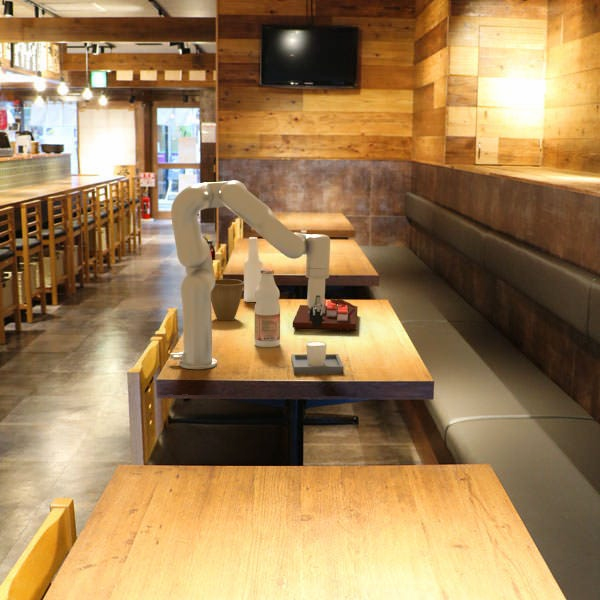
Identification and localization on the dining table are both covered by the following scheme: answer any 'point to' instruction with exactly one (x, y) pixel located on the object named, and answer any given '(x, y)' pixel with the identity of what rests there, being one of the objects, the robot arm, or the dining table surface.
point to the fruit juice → (267, 311)
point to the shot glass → (316, 353)
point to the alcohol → (252, 271)
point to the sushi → (329, 316)
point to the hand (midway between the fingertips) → (315, 323)
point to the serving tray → (330, 367)
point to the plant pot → (226, 298)
